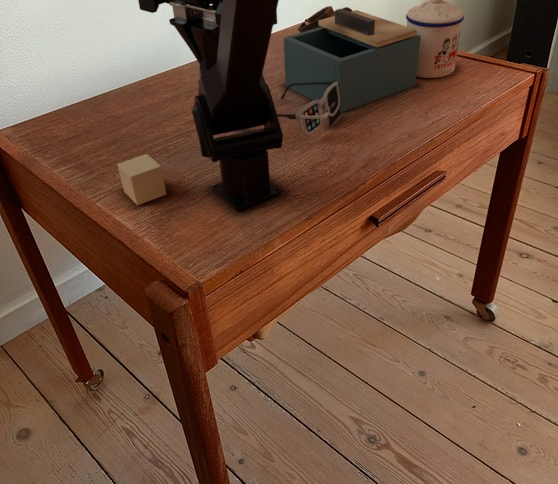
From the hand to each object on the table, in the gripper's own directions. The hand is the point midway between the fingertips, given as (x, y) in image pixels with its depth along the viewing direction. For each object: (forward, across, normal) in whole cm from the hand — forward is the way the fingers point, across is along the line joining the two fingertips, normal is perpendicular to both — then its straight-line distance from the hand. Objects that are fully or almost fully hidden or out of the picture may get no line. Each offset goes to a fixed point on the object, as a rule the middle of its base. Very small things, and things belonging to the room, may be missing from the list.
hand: (213, 77), depth 74 cm
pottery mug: (+11, +14, -41) cm, 44 cm away
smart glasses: (+9, -3, -13) cm, 16 cm away
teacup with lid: (+11, -6, -44) cm, 45 cm away
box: (+10, +1, -29) cm, 31 cm away
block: (+11, 0, +13) cm, 17 cm away
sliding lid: (+2, 0, -32) cm, 32 cm away
